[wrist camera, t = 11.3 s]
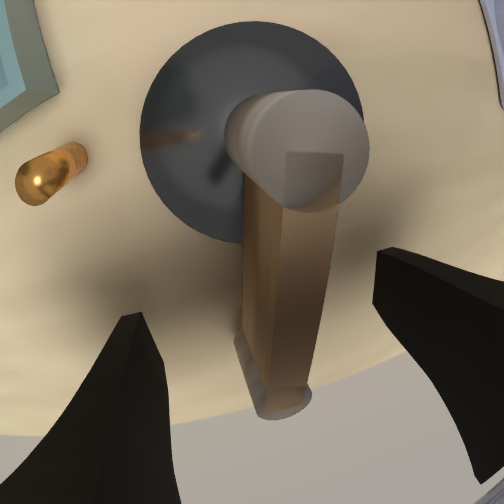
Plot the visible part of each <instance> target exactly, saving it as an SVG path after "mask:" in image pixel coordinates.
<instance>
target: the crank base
mask: <svg viewBox="0 0 504 504" xmlns="http://www.w3.org/2000/svg"><path fill="white" fill-rule="evenodd" d="M311 89H314V90H324V91H328V92H331V93H334V94H336V95H338V96H340V97H342V98H343V99H345V100H346V101H347V102H349V103H350V104H351V105H352V106H353V107H354V108H355V110H356V111H357V112H358V113H359V115H360V117H361V118H362V120H363V122H364V118H363V112H362V106H361V102H360V99H359V96H358V93H357V90H356V88H355V86H354V83H353V81H352V79H351V78H350V76H349V74H348V72H347V71H346V69H345V68H344V66H343V65H342V64H341V63H340V61H339V60H338V59H337V58H336V57H335V56H334V55H333V54H332V53H331V52H330V51H329V50H328V49H327V48H326V47H325V46H323V45H322V44H321V43H319V42H318V41H317V40H315V39H314V38H312V37H310V36H308V35H307V34H305V33H303V32H301V31H298V30H296V29H293V28H291V27H288V26H284V25H280V24H276V23H270V22H259V21H252V22H238V23H233V24H227V25H224V26H221V27H217V28H214V29H212V30H209V31H207V32H205V33H203V34H201V35H199V36H197V37H195V38H194V39H192V40H191V41H189V42H188V43H187V44H185V45H184V46H182V47H181V48H180V49H179V50H178V51H177V52H176V53H175V54H174V55H172V56H171V57H170V59H169V60H168V61H167V62H166V63H165V65H164V66H163V67H162V68H161V70H160V71H159V73H158V74H157V76H156V78H155V79H154V81H153V83H152V85H151V87H150V89H149V92H148V94H147V97H146V99H145V103H144V106H143V110H142V115H141V123H140V148H141V154H142V159H143V164H144V167H145V169H146V172H147V175H148V178H149V180H150V182H151V184H152V186H153V188H154V190H155V192H156V193H157V194H158V196H159V197H160V199H161V200H162V201H163V203H164V204H165V205H166V206H167V207H168V208H169V210H170V211H171V212H172V213H173V214H174V215H175V216H177V217H178V218H179V219H180V220H181V221H183V222H184V223H185V224H187V225H188V226H190V227H192V228H193V229H195V230H196V231H198V232H200V233H203V234H205V235H207V236H209V237H212V238H215V239H219V240H222V241H226V242H233V243H239V244H243V227H244V179H245V173H244V172H243V171H242V170H241V169H240V168H239V167H238V166H237V165H236V164H235V163H234V162H233V161H232V160H231V158H230V157H229V155H228V153H227V150H226V147H225V143H224V129H225V124H226V121H227V119H228V117H229V115H230V113H231V112H232V110H233V109H234V108H235V107H236V106H237V105H238V104H239V103H240V102H242V101H243V100H245V99H246V98H249V97H251V96H254V95H258V94H265V93H274V92H285V91H296V90H311ZM86 163H87V153H86V151H85V149H84V148H83V146H81V145H80V144H78V143H68V144H66V145H63V146H61V147H59V148H56V149H54V150H52V151H49V152H47V153H45V154H43V155H40V156H38V157H36V158H34V159H32V160H30V161H27V162H26V163H24V164H23V165H22V166H21V167H20V168H19V170H18V172H17V174H16V178H15V187H16V191H17V193H18V195H19V197H20V198H21V200H22V201H24V202H25V203H26V204H28V205H32V206H38V205H41V204H43V203H45V202H46V201H47V200H48V199H49V198H50V197H52V196H53V195H54V194H55V193H56V192H57V191H58V190H60V189H61V188H62V187H63V186H64V185H66V184H67V183H68V182H69V181H70V180H72V179H73V178H74V177H75V176H77V175H78V174H79V173H80V172H81V171H82V170H83V169H84V168H85V166H86Z"/></svg>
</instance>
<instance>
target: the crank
mask: <svg viewBox="0 0 504 504" xmlns="http://www.w3.org/2000/svg"><path fill="white" fill-rule="evenodd" d="M224 143H225V147H226V150H227V153H228V155H229V157H230V158H231V160H232V161H233V162H234V163H235V164H236V165H237V166H238V167H239V168H240V169H241V170H242V171H243V172H244V173H245V179H244V227H243V284H242V327H241V328H240V329H239V330H238V331H237V333H236V335H235V337H234V345H235V349H236V352H237V355H238V358H239V361H240V365H241V368H242V371H243V374H244V377H245V380H246V383H247V386H248V389H249V392H250V395H251V398H252V401H253V404H254V407H255V410H256V413H257V415H258V416H259V417H261V418H262V419H265V420H279V419H284V418H287V417H290V416H292V415H294V414H296V413H298V412H300V411H301V410H302V409H304V408H305V407H306V406H307V405H308V403H309V402H310V400H311V397H312V392H311V390H310V388H309V386H308V384H307V380H308V376H309V372H310V367H311V363H312V358H313V354H314V349H315V344H316V339H317V334H318V330H319V324H320V319H321V314H322V309H323V303H324V298H325V292H326V287H327V281H328V275H329V269H330V263H331V256H332V250H333V243H334V236H335V229H336V222H337V214H338V206H339V204H340V203H341V202H343V201H344V200H346V199H347V198H348V197H349V196H350V195H351V194H352V193H353V192H354V190H355V189H356V188H357V186H358V185H359V183H360V182H361V180H362V178H363V176H364V173H365V171H366V168H367V164H368V159H369V139H368V133H367V130H366V127H365V125H364V122H363V120H362V118H361V117H360V115H359V113H358V112H357V111H356V110H355V108H354V107H353V106H352V105H351V104H350V103H349V102H347V101H346V100H345V99H343V98H342V97H340V96H338V95H336V94H334V93H331V92H328V91H324V90H314V89H311V90H296V91H285V92H274V93H265V94H258V95H254V96H251V97H249V98H246V99H245V100H243V101H242V102H240V103H239V104H238V105H237V106H236V107H235V108H234V109H233V110H232V112H231V113H230V115H229V117H228V119H227V121H226V124H225V129H224Z"/></svg>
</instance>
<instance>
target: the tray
mask: <svg viewBox="0 0 504 504" xmlns="http://www.w3.org/2000/svg"><path fill="white" fill-rule="evenodd" d="M57 93H59V89H58V86H57V83H56V80H55V77H54V74H53V71H52V68H51V65H50V62H49V59H48V55H47V52H46V49H45V45H44V42H43V38H42V34H41V31H40V27H39V23H38V19H37V15H36V11H35V7H34V2H33V0H0V132H1V131H2V130H3V129H5V128H6V127H7V126H9V125H10V124H11V123H13V122H14V121H16V120H17V119H18V118H20V117H21V116H23V115H24V114H26V113H27V112H29V111H30V110H32V109H33V108H35V107H36V106H38V105H39V104H41V103H43V102H44V101H46V100H47V99H49V98H51V97H52V96H54V95H56V94H57Z"/></svg>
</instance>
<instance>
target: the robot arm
mask: <svg viewBox="0 0 504 504" xmlns="http://www.w3.org/2000/svg"><path fill="white" fill-rule="evenodd" d="M480 3H481V6H482V9H483V13H484V16H485V20H486V23H487V27H488V31H489V35H490V39H491V44H492V48H493V53H494V58H495V64H496V69H497V75H498V82H499V89H500V98H501V104H502V107H503V108H504V0H480ZM372 304H373V305H374V307H375V308H376V310H377V312H378V313H379V315H380V317H381V318H382V320H383V321H384V323H385V324H386V326H387V327H388V328H389V330H390V331H391V332H392V333H393V335H394V336H395V337H396V338H397V339H398V341H399V342H400V343H401V344H402V345H403V347H404V348H405V349H406V350H407V351H408V353H409V354H410V355H411V356H412V357H413V359H414V360H415V361H416V362H417V363H418V365H419V366H420V367H421V368H422V369H423V371H424V372H425V373H426V375H427V376H428V377H429V379H430V380H431V381H432V383H433V385H434V386H435V388H436V389H437V391H438V392H439V394H440V396H441V398H442V399H443V401H444V403H445V405H446V407H447V408H448V410H449V412H450V414H451V416H452V418H453V420H454V422H455V424H456V426H457V428H458V430H459V433H460V435H461V437H462V440H463V442H464V444H465V447H466V450H467V453H468V456H469V459H470V461H471V464H472V468H473V472H474V475H475V477H476V478H477V480H478V481H479V483H480V484H482V483H484V482H485V481H487V480H488V479H489V478H490V477H492V476H493V475H494V474H495V473H496V472H498V471H499V470H500V469H501V468H502V467H503V466H504V282H503V281H499V280H495V279H491V278H488V277H484V276H481V275H478V274H475V273H472V272H468V271H465V270H462V269H459V268H457V267H454V266H451V265H448V264H445V263H442V262H439V261H437V260H434V259H431V258H428V257H425V256H422V255H419V254H416V253H413V252H410V251H406V250H403V249H399V248H395V247H390V248H387V249H384V250H380V251H377V259H376V271H375V282H374V292H373V301H372ZM0 504H181V500H180V496H179V492H178V487H177V483H176V479H175V474H174V468H173V461H172V450H171V436H170V416H169V396H168V387H167V380H166V374H165V367H164V362H163V359H162V357H161V355H160V353H159V351H158V349H157V346H156V344H155V342H154V340H153V337H152V335H151V333H150V331H149V328H148V326H147V324H146V321H145V319H144V317H143V314H142V312H139V313H134V314H130V315H125V316H122V317H121V318H120V320H119V321H118V323H117V325H116V326H115V328H114V330H113V332H112V333H111V335H110V337H109V339H108V340H107V342H106V344H105V346H104V347H103V349H102V351H101V353H100V354H99V356H98V358H97V359H96V361H95V363H94V365H93V366H92V368H91V370H90V371H89V373H88V375H87V376H86V378H85V379H84V381H83V383H82V384H81V386H80V387H79V389H78V391H77V392H76V394H75V395H74V397H73V399H72V400H71V402H70V403H69V405H68V406H67V407H66V409H65V410H64V412H63V413H62V415H61V416H60V417H59V419H58V420H57V421H56V423H55V424H54V425H53V427H52V428H51V429H50V431H49V432H48V433H47V434H46V436H45V437H44V438H43V439H42V440H41V442H40V443H39V444H38V445H37V446H36V448H35V449H34V450H33V451H32V452H31V453H30V455H29V456H28V457H27V458H26V459H25V460H24V461H23V462H22V464H21V465H20V466H19V467H18V468H17V469H16V470H15V471H14V472H13V473H12V474H11V475H10V476H9V477H8V478H7V479H6V480H5V481H4V482H2V483H1V484H0ZM474 504H504V478H503V479H502V480H501V481H500V482H499V483H498V484H496V485H495V486H494V487H493V488H492V489H491V490H490V491H488V492H487V493H486V494H485V495H484V496H483V497H481V498H480V499H479V500H478V501H477V502H475V503H474Z"/></svg>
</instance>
